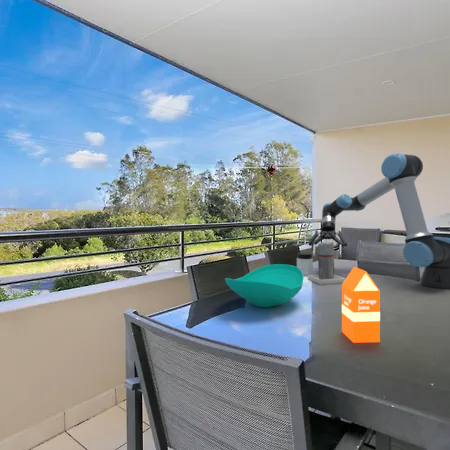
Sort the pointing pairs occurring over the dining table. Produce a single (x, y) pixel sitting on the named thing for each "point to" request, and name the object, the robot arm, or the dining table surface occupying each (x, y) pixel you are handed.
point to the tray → (326, 280)
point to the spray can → (326, 260)
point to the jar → (305, 263)
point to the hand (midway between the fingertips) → (326, 255)
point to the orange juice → (360, 307)
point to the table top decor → (268, 284)
